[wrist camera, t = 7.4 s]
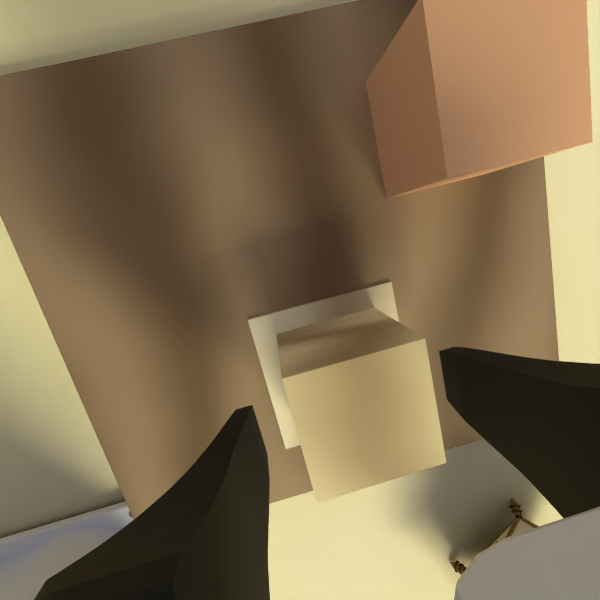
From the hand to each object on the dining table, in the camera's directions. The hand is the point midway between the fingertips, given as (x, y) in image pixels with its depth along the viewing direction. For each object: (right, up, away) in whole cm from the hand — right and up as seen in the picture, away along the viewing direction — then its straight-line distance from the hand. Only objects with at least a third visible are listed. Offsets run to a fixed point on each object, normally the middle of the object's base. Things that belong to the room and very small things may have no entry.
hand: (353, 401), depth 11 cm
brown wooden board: (-1, +5, +3) cm, 6 cm away
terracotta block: (+3, +11, +1) cm, 11 cm away
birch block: (0, +1, +3) cm, 3 cm away
